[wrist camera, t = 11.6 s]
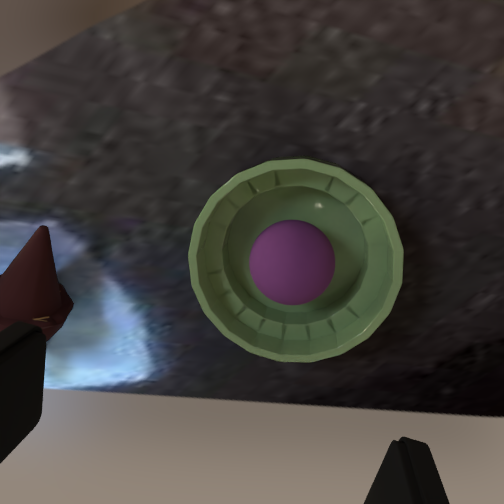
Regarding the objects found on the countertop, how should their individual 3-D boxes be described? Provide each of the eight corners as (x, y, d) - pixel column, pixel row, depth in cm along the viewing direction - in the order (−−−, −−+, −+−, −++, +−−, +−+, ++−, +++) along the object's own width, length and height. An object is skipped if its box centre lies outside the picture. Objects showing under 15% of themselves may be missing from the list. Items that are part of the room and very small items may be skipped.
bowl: (229, 134, 29) (212, 133, 24) (417, 184, 28) (438, 194, 23) (192, 301, 33) (172, 329, 29) (353, 350, 32) (360, 386, 28)
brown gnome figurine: (-38, 207, 27) (-58, 361, 33) (35, 265, 25) (0, 416, 31) (49, 197, 33) (19, 328, 39) (113, 242, 31) (71, 372, 37)
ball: (267, 202, 29) (254, 218, 24) (344, 224, 29) (350, 246, 23) (248, 273, 31) (232, 304, 26) (320, 295, 31) (320, 331, 25)
